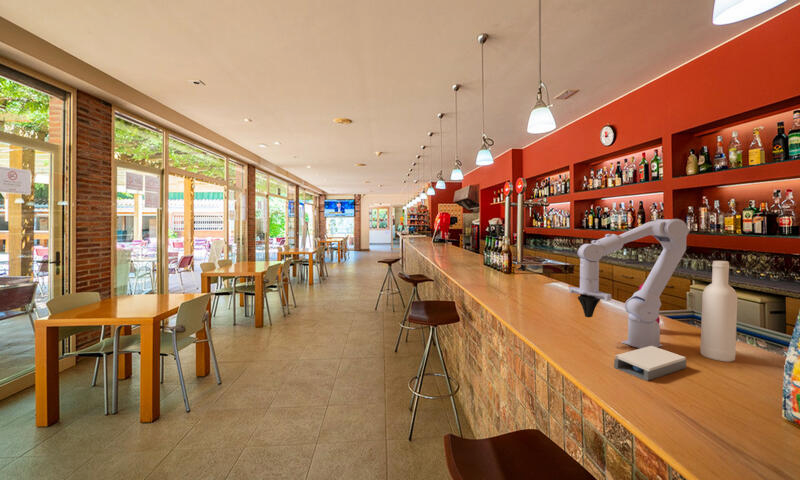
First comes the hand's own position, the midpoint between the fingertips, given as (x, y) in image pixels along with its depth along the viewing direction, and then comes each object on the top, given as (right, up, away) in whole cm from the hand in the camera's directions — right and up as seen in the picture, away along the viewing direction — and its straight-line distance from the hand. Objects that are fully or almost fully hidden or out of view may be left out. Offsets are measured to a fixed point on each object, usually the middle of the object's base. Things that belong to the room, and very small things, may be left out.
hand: (588, 316), depth 115 cm
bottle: (+33, -10, -12) cm, 37 cm away
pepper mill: (+30, -8, +12) cm, 33 cm away
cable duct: (+7, -10, -19) cm, 23 cm away
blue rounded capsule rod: (+7, -10, -19) cm, 23 cm away
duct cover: (+7, -8, -20) cm, 22 cm away
